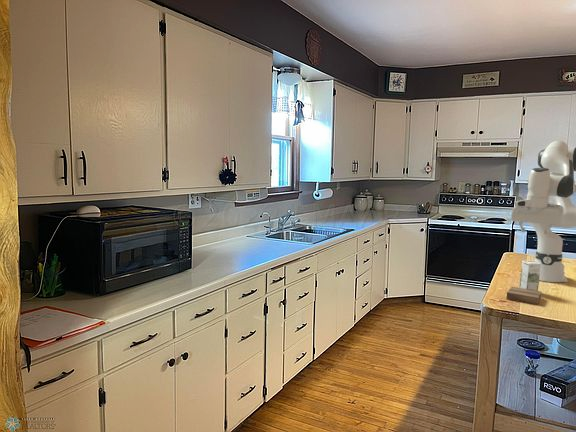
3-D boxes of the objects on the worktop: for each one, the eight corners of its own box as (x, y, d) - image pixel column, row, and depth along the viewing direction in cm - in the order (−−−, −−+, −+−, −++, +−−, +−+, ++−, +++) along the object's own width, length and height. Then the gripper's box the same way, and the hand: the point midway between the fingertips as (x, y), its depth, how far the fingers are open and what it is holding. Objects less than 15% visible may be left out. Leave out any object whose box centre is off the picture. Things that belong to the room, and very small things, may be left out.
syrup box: (530, 289, 206) (533, 260, 204) (538, 293, 200) (541, 263, 198) (519, 289, 205) (521, 260, 204) (526, 293, 200) (529, 262, 198)
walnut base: (511, 292, 200) (511, 286, 199) (540, 298, 193) (541, 291, 192) (506, 298, 190) (506, 292, 190) (537, 304, 183) (537, 298, 183)
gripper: (564, 204, 194) (561, 234, 195) (514, 201, 206) (511, 229, 208) (563, 205, 189) (559, 236, 190) (511, 201, 201) (509, 231, 203)
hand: (534, 232), depth 199 cm, fingers open, 8 cm apart
